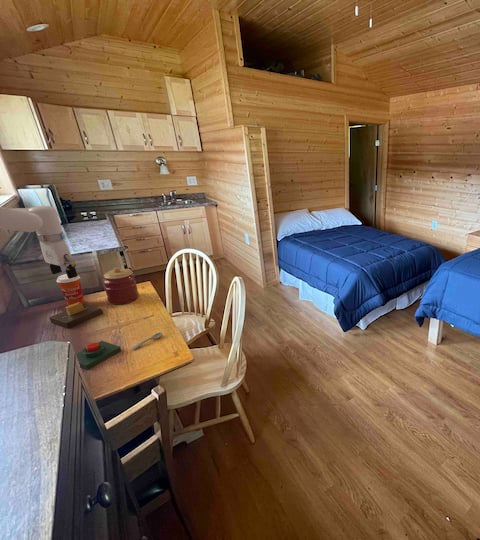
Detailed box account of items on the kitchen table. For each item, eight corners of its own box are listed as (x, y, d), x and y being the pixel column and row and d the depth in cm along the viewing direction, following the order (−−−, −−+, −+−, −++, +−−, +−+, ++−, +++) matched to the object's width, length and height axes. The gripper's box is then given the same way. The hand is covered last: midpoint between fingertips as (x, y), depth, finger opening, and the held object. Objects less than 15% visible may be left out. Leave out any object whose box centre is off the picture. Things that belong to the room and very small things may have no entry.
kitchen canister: (112, 294, 158) (104, 263, 152) (141, 292, 163) (135, 262, 157) (104, 306, 147) (95, 273, 141) (136, 303, 153) (128, 271, 146)
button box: (87, 370, 108) (84, 361, 107) (68, 363, 111) (65, 354, 109) (121, 351, 119) (119, 342, 117) (103, 344, 121) (100, 336, 120)
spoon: (164, 336, 129) (163, 332, 129) (135, 352, 120) (133, 348, 119) (160, 334, 131) (159, 330, 130) (130, 350, 121) (129, 346, 120)
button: (91, 353, 111) (90, 349, 111) (84, 350, 112) (83, 346, 112) (102, 347, 115) (100, 343, 114) (95, 345, 115) (94, 341, 115)
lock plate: (68, 328, 129) (66, 322, 128) (51, 323, 132) (48, 316, 131) (103, 313, 142) (101, 308, 140) (86, 308, 144) (84, 303, 143)
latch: (70, 315, 133) (67, 307, 131) (67, 314, 133) (65, 306, 132) (84, 310, 138) (81, 302, 136) (81, 309, 138) (79, 301, 137)
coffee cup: (63, 309, 142) (53, 281, 136) (66, 302, 148) (57, 274, 143) (86, 306, 147) (78, 278, 141) (88, 298, 153) (80, 271, 147)
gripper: (25, 236, 120) (40, 274, 127) (55, 243, 116) (68, 282, 123) (48, 231, 127) (61, 268, 134) (77, 238, 122) (89, 275, 129)
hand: (65, 275), depth 128 cm, fingers open, 9 cm apart
